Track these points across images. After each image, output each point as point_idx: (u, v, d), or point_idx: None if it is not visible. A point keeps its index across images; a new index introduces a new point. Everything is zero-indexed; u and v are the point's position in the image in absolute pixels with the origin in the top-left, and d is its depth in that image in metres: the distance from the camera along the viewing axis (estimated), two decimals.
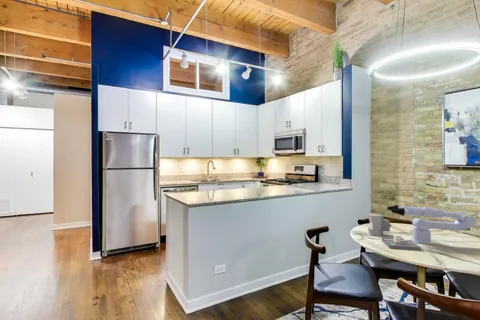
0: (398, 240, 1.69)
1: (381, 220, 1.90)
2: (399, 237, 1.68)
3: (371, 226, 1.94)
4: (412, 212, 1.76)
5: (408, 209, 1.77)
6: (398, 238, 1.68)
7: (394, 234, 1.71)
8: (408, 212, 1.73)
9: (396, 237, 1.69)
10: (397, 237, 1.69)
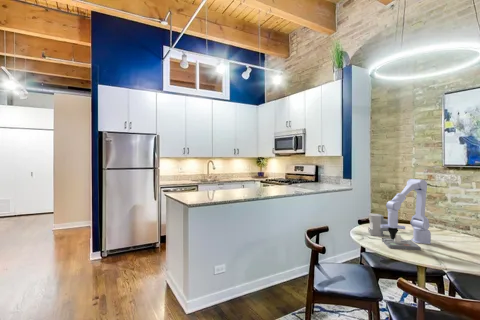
0: (398, 240, 1.68)
1: (381, 220, 1.90)
2: (399, 237, 1.68)
3: (371, 226, 1.94)
4: None
5: (397, 223, 1.69)
6: (399, 238, 1.68)
7: None
8: None
9: (396, 237, 1.69)
10: (397, 237, 1.69)
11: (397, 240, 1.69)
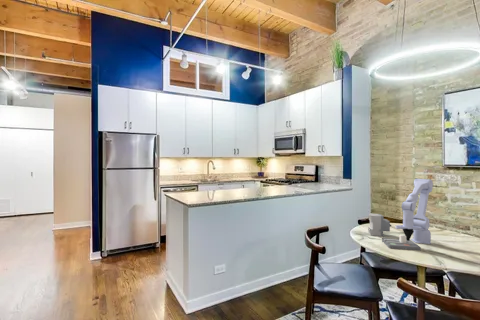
0: (404, 240, 1.68)
1: (381, 220, 1.90)
2: (405, 237, 1.68)
3: (371, 226, 1.94)
4: None
5: (413, 224, 1.67)
6: (404, 238, 1.68)
7: None
8: (420, 227, 1.67)
9: (402, 237, 1.68)
10: (403, 237, 1.68)
11: (402, 240, 1.68)
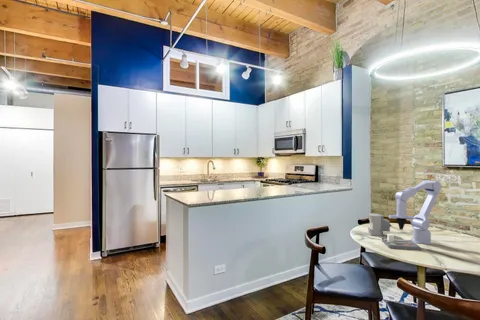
0: (391, 240, 1.69)
1: (381, 220, 1.90)
2: (392, 237, 1.69)
3: (371, 226, 1.94)
4: None
5: None
6: (391, 237, 1.69)
7: (387, 234, 1.72)
8: None
9: (389, 237, 1.70)
10: (390, 237, 1.69)
11: (390, 239, 1.70)
